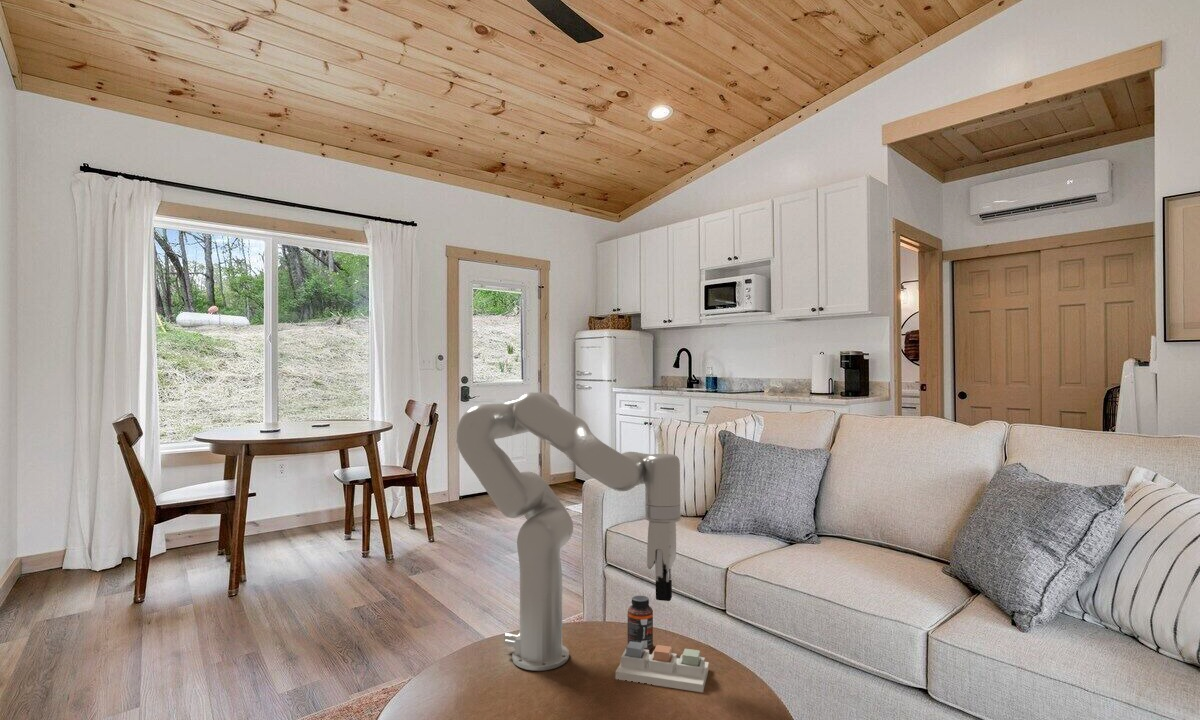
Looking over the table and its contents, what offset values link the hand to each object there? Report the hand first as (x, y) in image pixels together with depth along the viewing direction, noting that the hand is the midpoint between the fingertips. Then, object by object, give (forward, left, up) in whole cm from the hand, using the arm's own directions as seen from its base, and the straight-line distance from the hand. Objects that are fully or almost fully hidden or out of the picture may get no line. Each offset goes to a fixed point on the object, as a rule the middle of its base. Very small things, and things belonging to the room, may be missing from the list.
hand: (663, 599), depth 123 cm
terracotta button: (0, -1, -13) cm, 13 cm away
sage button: (+6, -1, -13) cm, 14 cm away
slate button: (-6, 0, -13) cm, 14 cm away
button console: (0, -1, -15) cm, 15 cm away
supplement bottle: (-8, +10, -16) cm, 20 cm away
